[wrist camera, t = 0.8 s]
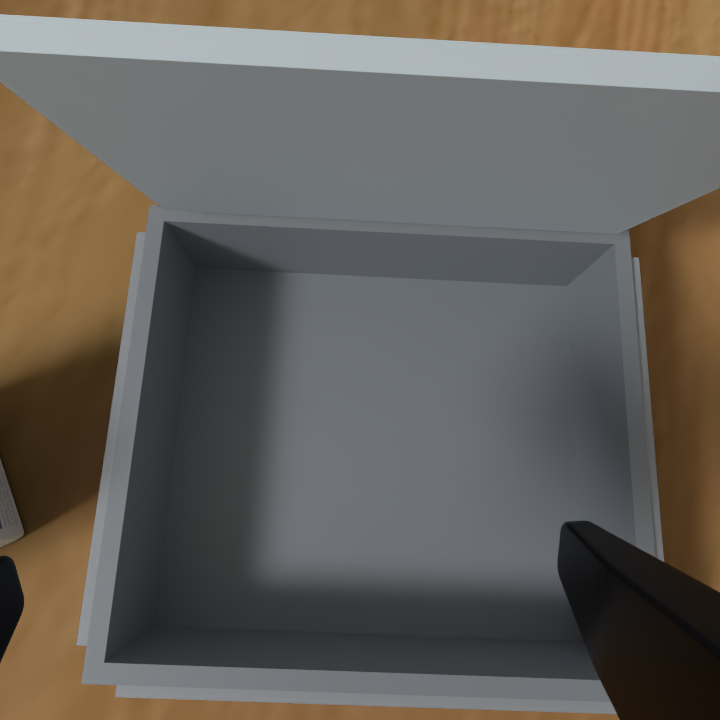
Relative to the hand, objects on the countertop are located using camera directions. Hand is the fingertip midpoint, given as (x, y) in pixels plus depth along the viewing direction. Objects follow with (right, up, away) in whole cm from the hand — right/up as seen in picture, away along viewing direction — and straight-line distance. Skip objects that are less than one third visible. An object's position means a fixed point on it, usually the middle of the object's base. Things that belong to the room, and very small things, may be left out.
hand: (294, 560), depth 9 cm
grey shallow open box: (+2, 0, +14) cm, 14 cm away
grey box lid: (+2, +8, +11) cm, 14 cm away
